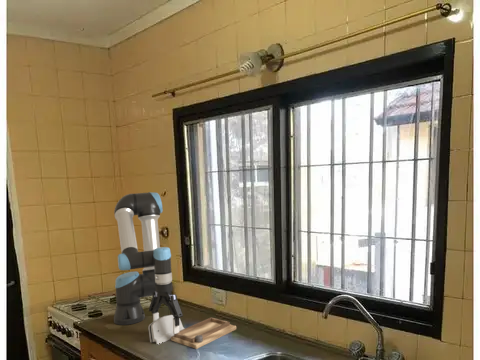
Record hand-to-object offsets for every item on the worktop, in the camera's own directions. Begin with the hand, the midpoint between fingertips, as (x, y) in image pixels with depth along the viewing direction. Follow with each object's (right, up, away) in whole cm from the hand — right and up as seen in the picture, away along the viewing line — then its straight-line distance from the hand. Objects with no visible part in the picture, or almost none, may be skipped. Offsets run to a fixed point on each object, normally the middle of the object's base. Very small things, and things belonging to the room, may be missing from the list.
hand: (166, 330), depth 180 cm
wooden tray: (+17, -2, 0) cm, 17 cm away
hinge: (0, -3, +1) cm, 4 cm away
